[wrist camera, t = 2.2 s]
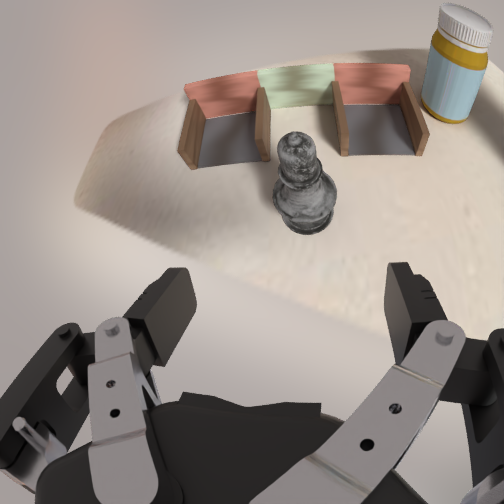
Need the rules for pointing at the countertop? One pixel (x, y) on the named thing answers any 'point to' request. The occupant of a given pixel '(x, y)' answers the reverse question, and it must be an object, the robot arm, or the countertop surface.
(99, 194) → the countertop surface
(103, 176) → the countertop surface
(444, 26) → the bottle
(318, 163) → the grey chess piece
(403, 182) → the countertop surface
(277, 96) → the bay rack
